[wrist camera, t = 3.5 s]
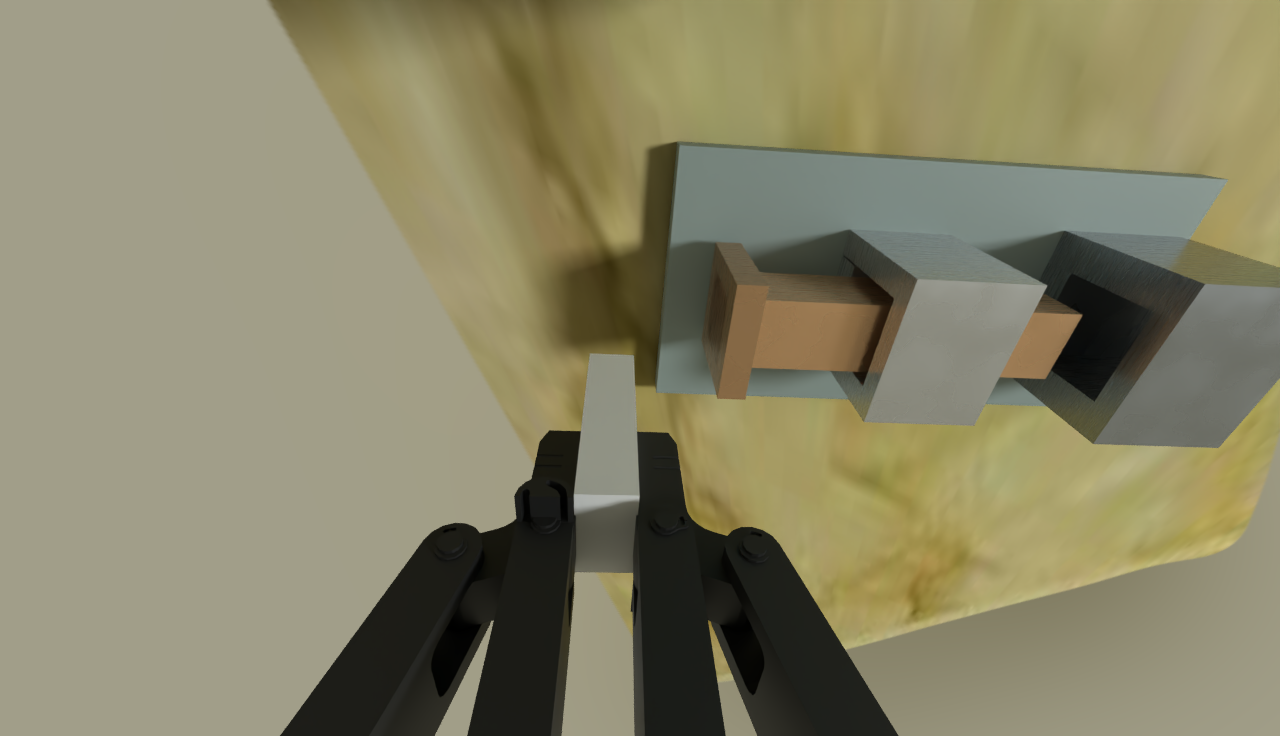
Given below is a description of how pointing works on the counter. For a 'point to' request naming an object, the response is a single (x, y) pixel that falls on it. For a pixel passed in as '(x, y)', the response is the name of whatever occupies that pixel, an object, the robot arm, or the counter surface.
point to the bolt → (827, 324)
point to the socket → (1160, 339)
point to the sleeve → (935, 326)
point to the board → (883, 228)
